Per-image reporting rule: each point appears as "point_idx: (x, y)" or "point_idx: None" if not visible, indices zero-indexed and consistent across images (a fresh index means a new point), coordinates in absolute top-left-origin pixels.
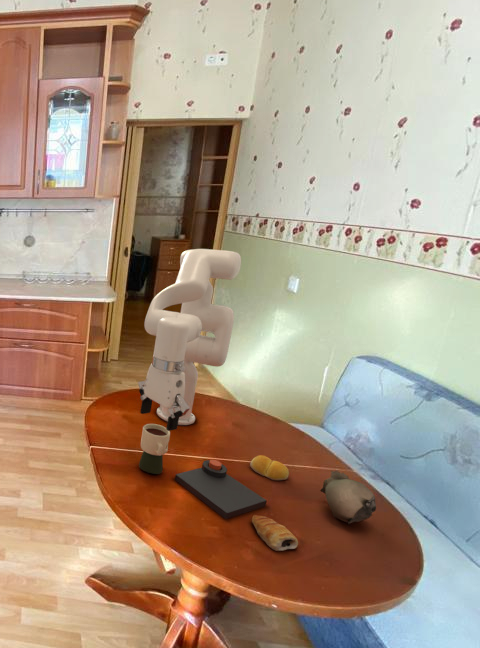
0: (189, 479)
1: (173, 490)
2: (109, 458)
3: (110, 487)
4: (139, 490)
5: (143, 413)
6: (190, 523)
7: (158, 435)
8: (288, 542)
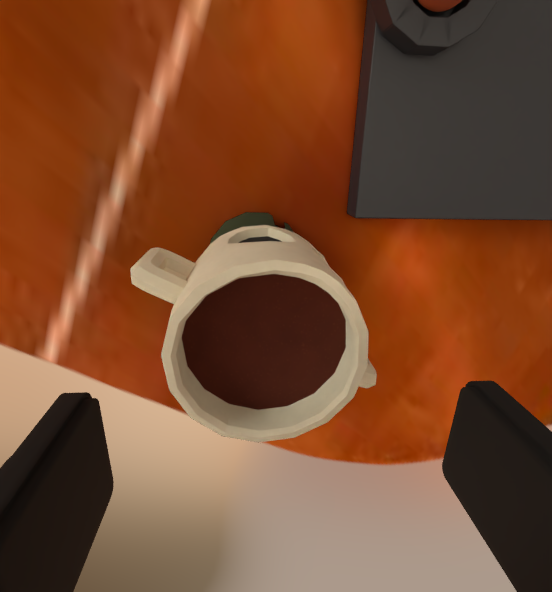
0: (407, 187)
1: (386, 267)
2: (139, 360)
3: (286, 442)
4: None
5: (110, 479)
6: (508, 335)
7: (290, 341)
8: None
